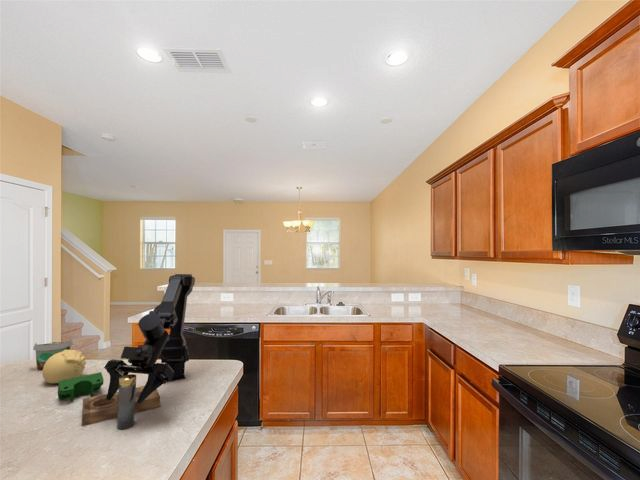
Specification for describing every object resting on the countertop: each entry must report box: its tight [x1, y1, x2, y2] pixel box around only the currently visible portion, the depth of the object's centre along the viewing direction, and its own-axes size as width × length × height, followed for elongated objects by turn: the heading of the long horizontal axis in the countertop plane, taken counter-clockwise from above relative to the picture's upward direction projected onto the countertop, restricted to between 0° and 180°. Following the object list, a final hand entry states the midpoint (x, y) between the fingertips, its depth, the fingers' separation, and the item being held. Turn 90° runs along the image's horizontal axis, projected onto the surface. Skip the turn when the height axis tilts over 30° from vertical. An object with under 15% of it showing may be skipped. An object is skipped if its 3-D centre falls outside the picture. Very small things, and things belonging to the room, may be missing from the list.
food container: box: [33, 339, 74, 371], centre depth 123 cm, size 12×6×10 cm, turn 118°
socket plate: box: [81, 385, 161, 427], centre depth 94 cm, size 19×11×3 cm, turn 127°
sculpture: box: [42, 349, 87, 384], centre depth 113 cm, size 12×12×11 cm
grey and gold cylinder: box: [116, 373, 137, 431], centre depth 85 cm, size 4×4×13 cm
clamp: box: [57, 371, 104, 403], centre depth 101 cm, size 12×6×9 cm, turn 129°
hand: (122, 401), depth 84 cm, fingers open, 9 cm apart
